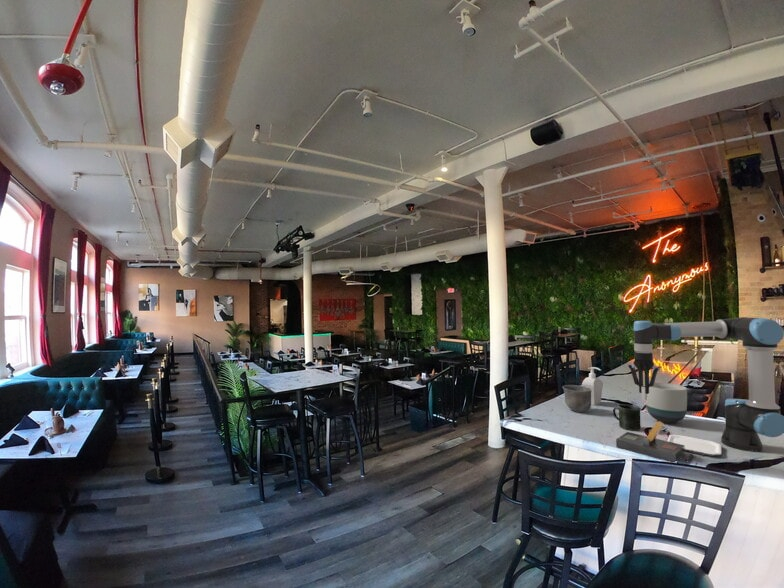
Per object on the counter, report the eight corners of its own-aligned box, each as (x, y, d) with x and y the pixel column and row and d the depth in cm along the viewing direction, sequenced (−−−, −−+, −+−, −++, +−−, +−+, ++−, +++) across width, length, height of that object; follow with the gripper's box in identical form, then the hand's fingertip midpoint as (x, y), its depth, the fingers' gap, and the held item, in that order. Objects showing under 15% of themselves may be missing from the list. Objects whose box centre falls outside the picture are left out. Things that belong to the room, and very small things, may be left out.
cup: (557, 410, 246) (557, 387, 246) (568, 405, 258) (568, 383, 258) (586, 416, 233) (585, 392, 233) (596, 410, 245) (595, 388, 245)
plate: (721, 447, 184) (721, 442, 184) (721, 460, 168) (721, 455, 168) (669, 437, 197) (669, 433, 197) (665, 448, 182) (665, 444, 182)
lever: (653, 440, 181) (664, 423, 178) (648, 445, 176) (659, 427, 173) (649, 437, 183) (659, 420, 180) (643, 441, 177) (654, 424, 174)
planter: (641, 415, 235) (640, 381, 235) (679, 418, 228) (678, 383, 228) (651, 425, 216) (651, 388, 216) (694, 429, 209) (693, 391, 209)
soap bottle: (596, 406, 253) (596, 369, 254) (582, 403, 261) (581, 367, 262) (605, 404, 260) (605, 367, 260) (591, 401, 268) (590, 365, 269)
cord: (693, 456, 172) (693, 454, 172) (688, 462, 166) (688, 459, 166) (690, 455, 173) (690, 453, 173) (685, 461, 166) (685, 459, 166)
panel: (684, 453, 175) (684, 439, 175) (675, 463, 165) (675, 448, 165) (627, 439, 193) (627, 426, 194) (616, 447, 183) (616, 433, 183)
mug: (635, 432, 203) (635, 411, 203) (608, 425, 215) (608, 404, 216) (645, 429, 209) (644, 407, 209) (618, 422, 221) (617, 402, 222)
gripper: (661, 352, 179) (662, 401, 179) (630, 350, 189) (631, 396, 188) (656, 354, 174) (657, 404, 174) (625, 351, 184) (626, 398, 184)
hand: (644, 399), depth 181 cm, fingers closed
